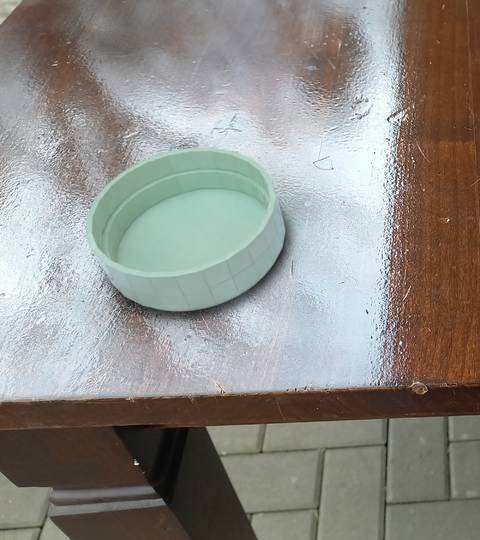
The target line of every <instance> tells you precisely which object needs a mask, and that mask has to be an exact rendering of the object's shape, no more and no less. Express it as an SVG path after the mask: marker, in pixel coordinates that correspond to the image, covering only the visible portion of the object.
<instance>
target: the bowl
mask: <svg viewBox="0 0 480 540" xmlns="http://www.w3.org/2000/svg"><path fill="white" fill-rule="evenodd" d="M275 187H276V186H275V183H274V180H272V178H271V176H270V175H269V173H268V171H266V169H265V167H263V166H262V165H260V164H259V163H258V162H256V161H255V160H254V159H252V158H251V157H249V156H246V155H245V154H242V153H239V152H236V151H234V150H230V149H224V148H217V147H187V148H182V149H176V150H170V151H165V152H163V153H161V154H157V155H154V156H152V157H151V156H150V157H149V158H146V159H143V160H142V161H140V162H137V163H135V164H133V165H132V166H130V167H128V168H127V169H125V170H123V171H122V172H121V173H119V174H118V175H117V176H115V177H114V178H113V179H112V180H111V181H109V182H108V183H107V184H105V186H104V188H102V190H101V191H100V192H99V193H98V194H97V196H96V197H95V198H94V200H93V201H92V203H91V206H90V208H89V211H88V213H87V215H86V218H85V219H86V220H85V234H84V235H85V237H86V240H87V243H88V245H89V247H90V250H91V252H92V253H93V255H94V257H95V259H96V260H97V262H98V263H99V265H100V266H101V268H102V270H103V271H104V273H105V274H106V276H107V277H108V280H109V281H110V283H111V284H112V286H114V287H115V288H116V289H117V291H119V293H121V294H122V295H123V296H124V297H125V298H127V299H129V300H131V301H133V302H135V303H137V304H139V305H140V306H143V307H147V308H151V309H155V310H160V311H167V312H190V311H191V312H193V311H199V310H203V309H208V308H211V307H215V306H219V305H221V304H223V303H226V302H229V301H231V300H233V299H235V298H237V297H239V296H241V295H243V294H244V293H246V292H247V291H249V290H250V289H252V287H254V286H255V285H257V284H258V283H259V282H260V281H261V280H262V279H263V278H264V277H265V276H266V275H267V274H268V273H269V271H270V270H271V269H272V267H273V266H274V264H275V262H276V261H277V259H278V257H279V255H280V253H281V251H282V249H283V247H284V243H285V242H284V241H285V236H286V226H285V221H284V215H283V213H282V208H281V206H280V202H279V199H278V198H279V197H278V195H277V192H276V188H275Z"/></svg>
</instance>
